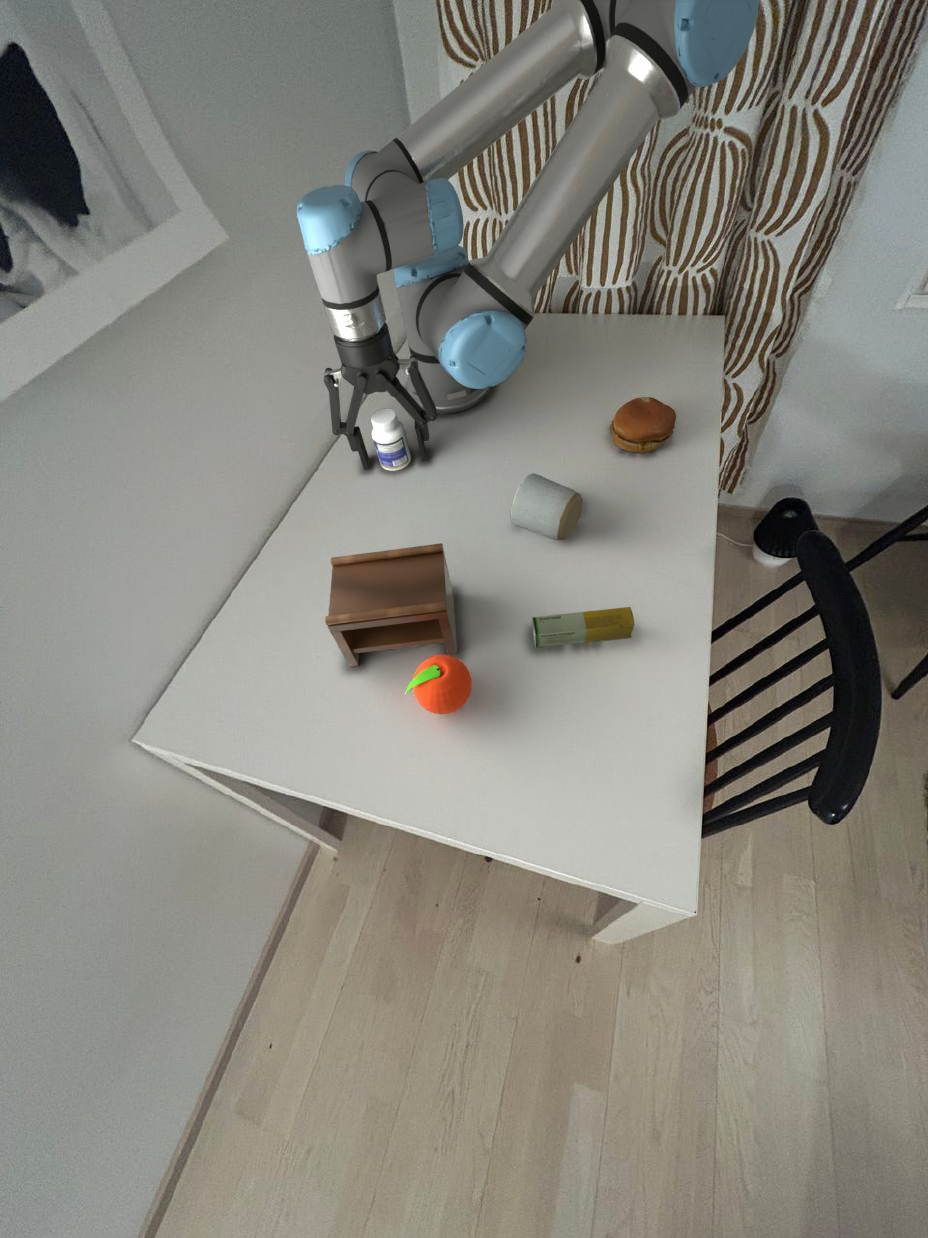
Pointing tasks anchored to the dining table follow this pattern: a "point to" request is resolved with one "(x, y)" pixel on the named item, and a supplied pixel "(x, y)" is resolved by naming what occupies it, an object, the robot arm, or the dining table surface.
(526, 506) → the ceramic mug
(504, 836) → the dining table surface
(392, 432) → the pill bottle
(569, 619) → the medication box
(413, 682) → the clementine
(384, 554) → the stand
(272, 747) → the dining table surface
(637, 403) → the burger
